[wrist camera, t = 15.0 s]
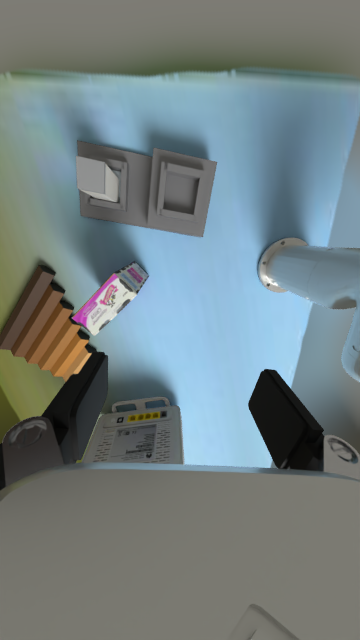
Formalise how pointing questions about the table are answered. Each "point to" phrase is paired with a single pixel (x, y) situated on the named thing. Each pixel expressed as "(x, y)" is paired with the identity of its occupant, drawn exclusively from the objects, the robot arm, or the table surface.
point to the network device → (138, 435)
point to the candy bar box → (111, 298)
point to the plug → (97, 180)
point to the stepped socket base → (153, 189)
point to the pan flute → (46, 328)
